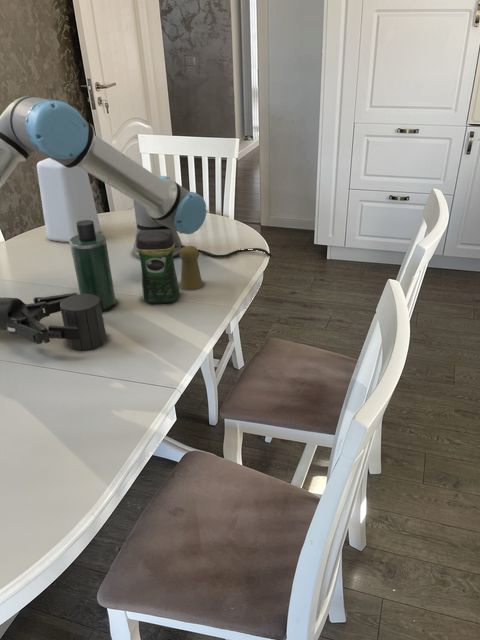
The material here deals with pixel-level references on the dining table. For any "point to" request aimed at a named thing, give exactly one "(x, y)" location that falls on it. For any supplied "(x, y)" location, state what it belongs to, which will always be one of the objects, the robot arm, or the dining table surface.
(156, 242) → the coffee jar
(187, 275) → the olive pawn figure
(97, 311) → the grey lidded canister
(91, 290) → the flask
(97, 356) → the dining table surface
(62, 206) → the plastic bottle
